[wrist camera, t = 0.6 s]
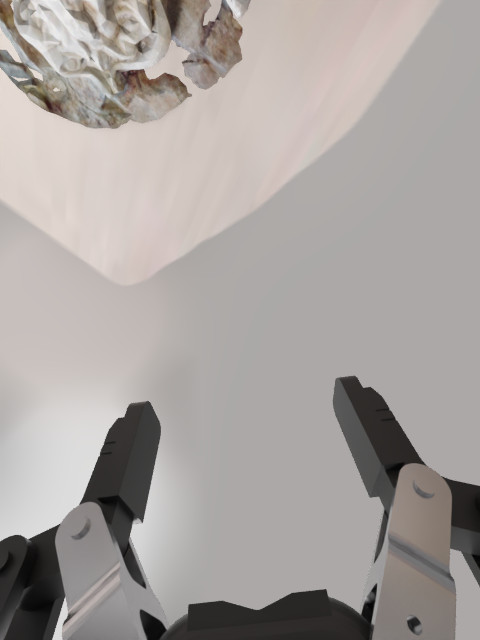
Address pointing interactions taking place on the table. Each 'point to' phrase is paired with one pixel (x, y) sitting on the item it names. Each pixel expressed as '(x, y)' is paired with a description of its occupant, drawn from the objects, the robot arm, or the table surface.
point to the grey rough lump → (115, 54)
